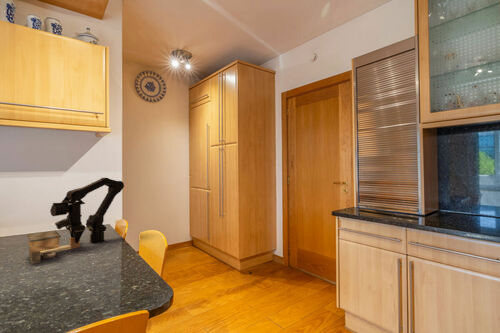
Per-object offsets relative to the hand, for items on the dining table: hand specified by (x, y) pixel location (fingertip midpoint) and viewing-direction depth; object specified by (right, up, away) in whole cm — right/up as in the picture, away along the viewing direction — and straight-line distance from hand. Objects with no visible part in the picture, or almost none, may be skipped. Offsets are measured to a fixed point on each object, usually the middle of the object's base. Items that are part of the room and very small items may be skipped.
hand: (74, 241), depth 138 cm
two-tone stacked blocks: (-4, -3, -5) cm, 7 cm away
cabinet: (-4, -3, -16) cm, 17 cm away
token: (-2, -3, -15) cm, 15 cm away
